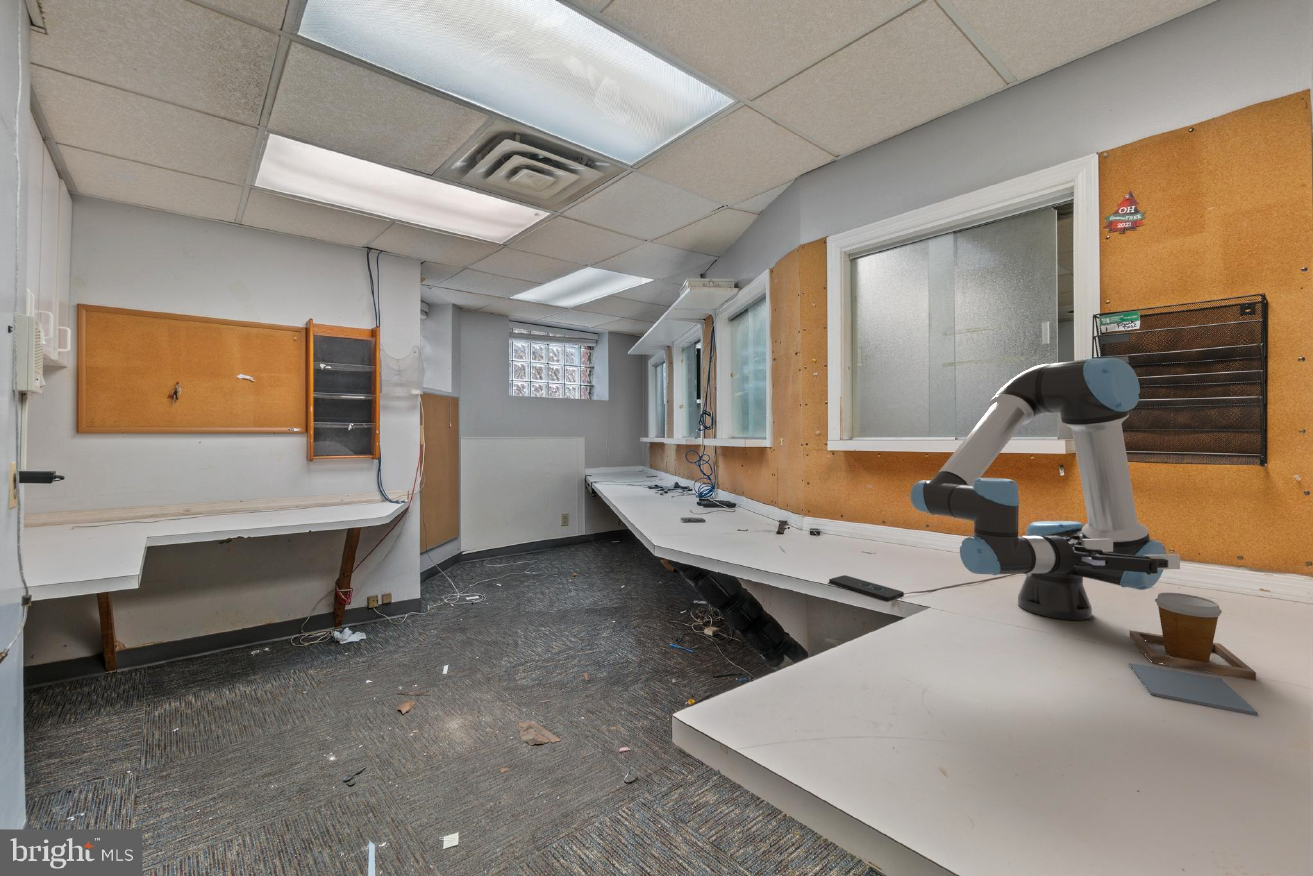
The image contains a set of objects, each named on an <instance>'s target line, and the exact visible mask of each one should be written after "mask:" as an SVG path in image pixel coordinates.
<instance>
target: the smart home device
mask: <svg viewBox="0 0 1313 876" xmlns="http://www.w3.org/2000/svg"><path fill="white" fill-rule="evenodd" d="M828 583H829V584H830V583H831V585H834V586H837V587H840V588H843V589H845V590H846V589H847V590H850V591H853V592H857V593H860V594H863V595H867V596H869V597H872V598H876V599H880V600H882V601H885V602H890V601H891V602H892V601H894V600H896V599H899V598H902V596H903V597H904V595H905V592H904V591H902V590H899V589H895V588H892V587H888V586H885V585H882V584H878V583H875V582H871V581H868V580H867V581H866V580H863V579H859V578H856V577H854V576H853V577H852V576H849V575H845V574H844V575H839V576H836V577H832V578H829V581H828Z"/></svg>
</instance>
